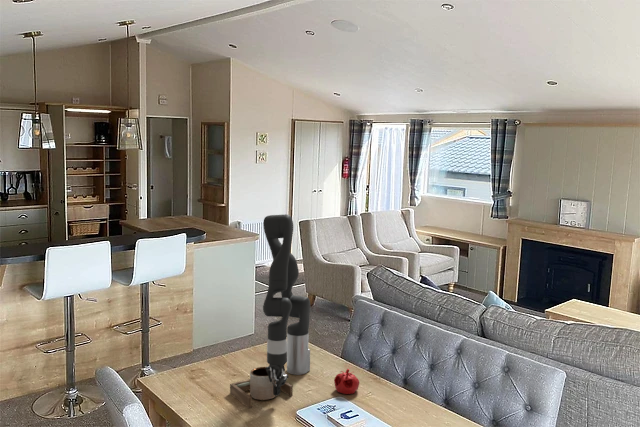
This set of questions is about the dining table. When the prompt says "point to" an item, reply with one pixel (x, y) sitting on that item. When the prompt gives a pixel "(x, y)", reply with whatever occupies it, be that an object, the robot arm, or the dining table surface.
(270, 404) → the dining table surface
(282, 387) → the bay
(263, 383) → the planter
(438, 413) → the dining table surface
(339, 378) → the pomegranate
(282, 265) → the robot arm
